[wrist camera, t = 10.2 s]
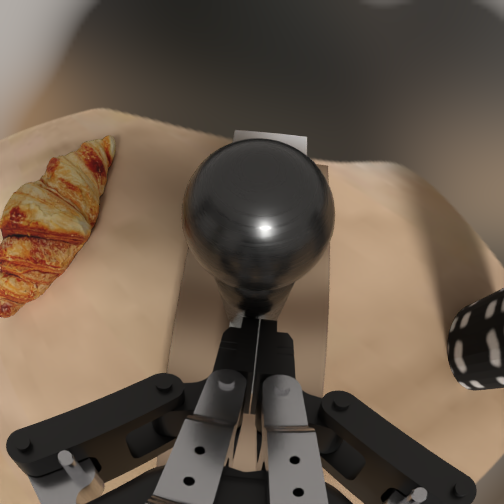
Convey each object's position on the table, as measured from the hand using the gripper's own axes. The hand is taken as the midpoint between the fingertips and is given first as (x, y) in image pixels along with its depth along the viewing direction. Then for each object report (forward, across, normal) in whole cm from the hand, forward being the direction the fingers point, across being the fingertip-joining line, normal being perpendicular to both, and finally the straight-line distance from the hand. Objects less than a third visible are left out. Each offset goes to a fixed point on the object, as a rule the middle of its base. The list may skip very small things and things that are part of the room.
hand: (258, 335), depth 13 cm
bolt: (+6, 0, -2) cm, 7 cm away
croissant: (+12, -20, 0) cm, 23 cm away
